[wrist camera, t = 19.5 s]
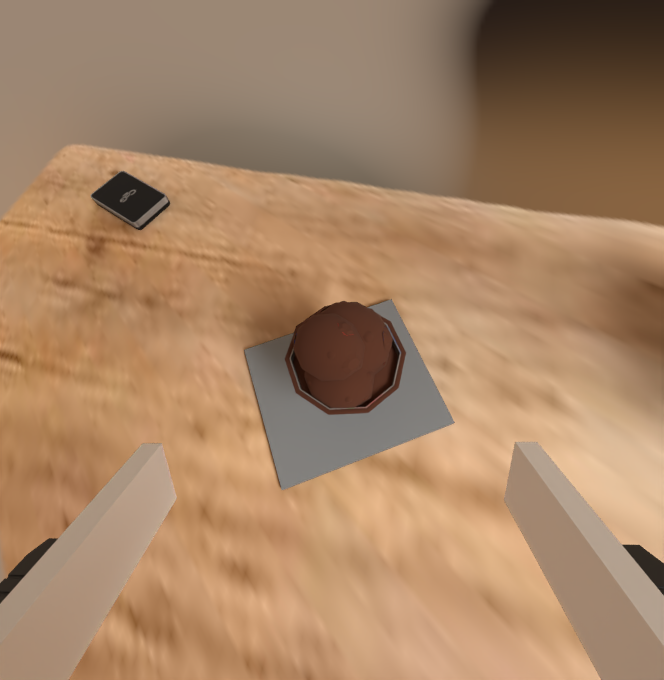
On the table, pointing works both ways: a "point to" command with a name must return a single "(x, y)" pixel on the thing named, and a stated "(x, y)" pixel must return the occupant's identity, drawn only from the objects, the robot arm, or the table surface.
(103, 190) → the external hard drive
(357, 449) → the grey mat
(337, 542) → the table surface
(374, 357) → the ice cream bowl
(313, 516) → the table surface
